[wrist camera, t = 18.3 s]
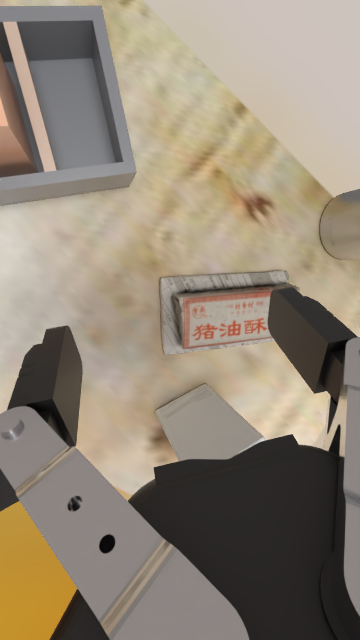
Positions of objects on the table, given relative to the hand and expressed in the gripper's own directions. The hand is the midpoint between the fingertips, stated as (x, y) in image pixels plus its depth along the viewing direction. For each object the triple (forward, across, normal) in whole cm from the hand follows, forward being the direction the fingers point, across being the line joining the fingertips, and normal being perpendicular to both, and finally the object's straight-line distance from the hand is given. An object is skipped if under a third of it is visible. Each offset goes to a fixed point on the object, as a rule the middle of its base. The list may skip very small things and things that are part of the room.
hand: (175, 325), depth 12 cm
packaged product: (+23, -10, +16) cm, 30 cm away
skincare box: (+17, -3, +27) cm, 32 cm away
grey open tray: (+29, +8, -6) cm, 30 cm away
